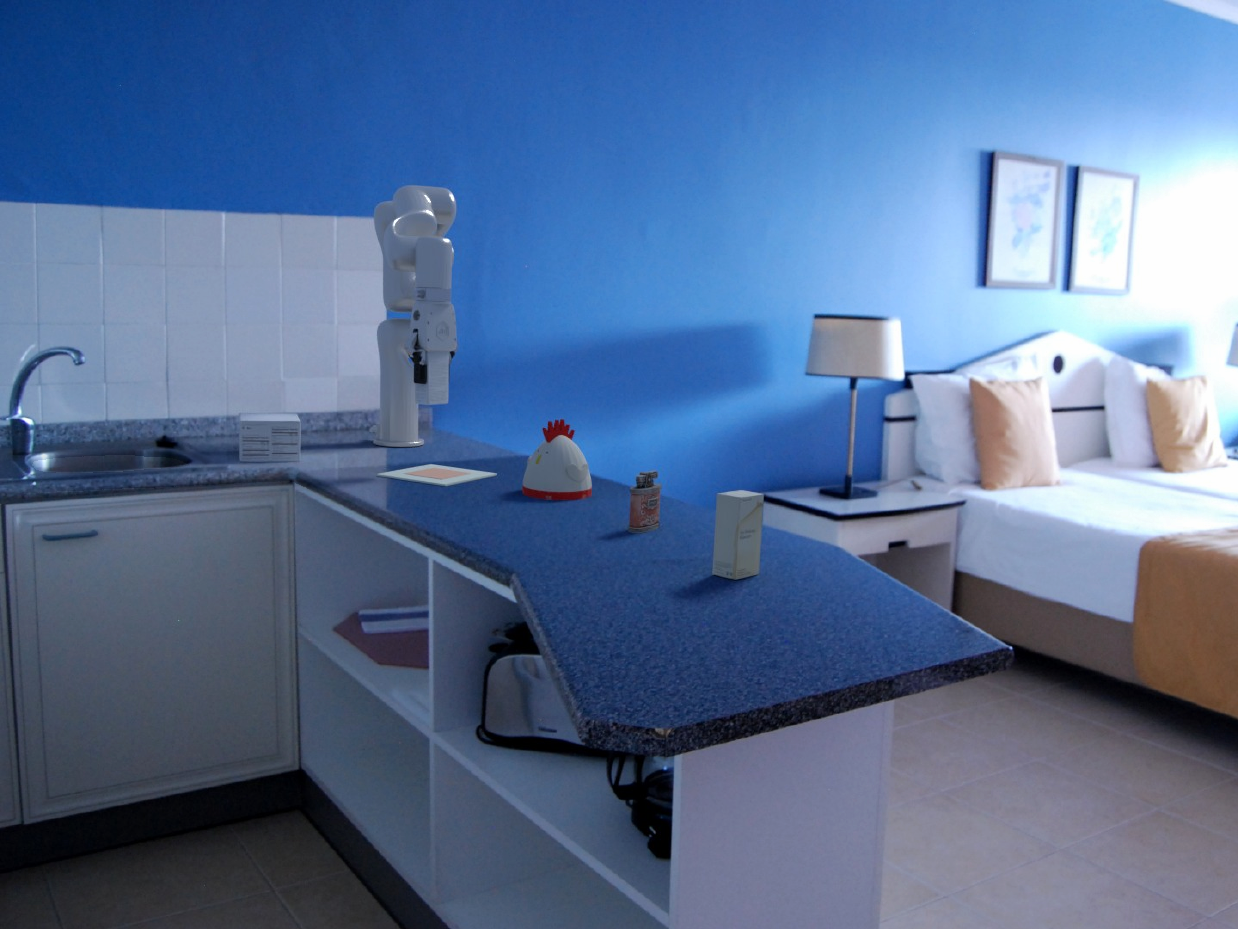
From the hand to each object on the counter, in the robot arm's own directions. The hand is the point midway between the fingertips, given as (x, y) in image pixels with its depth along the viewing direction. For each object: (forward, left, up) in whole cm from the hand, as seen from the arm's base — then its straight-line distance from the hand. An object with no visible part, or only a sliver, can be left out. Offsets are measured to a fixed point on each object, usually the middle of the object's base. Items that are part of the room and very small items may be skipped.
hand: (431, 381), depth 227 cm
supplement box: (-42, -5, -20) cm, 47 cm away
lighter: (+61, -18, -20) cm, 67 cm away
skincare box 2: (+86, -37, -20) cm, 96 cm away
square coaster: (+2, 0, -20) cm, 20 cm away
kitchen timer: (+32, 0, -20) cm, 38 cm away
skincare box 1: (0, 0, -5) cm, 5 cm away
